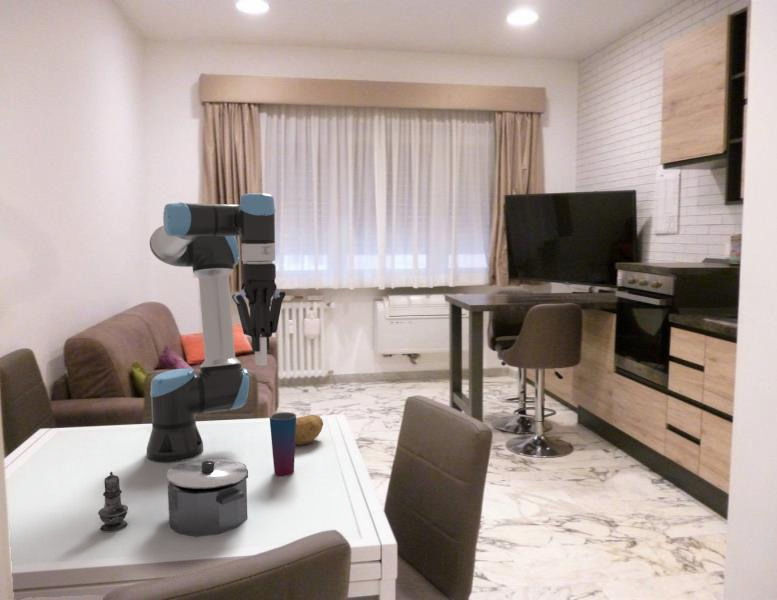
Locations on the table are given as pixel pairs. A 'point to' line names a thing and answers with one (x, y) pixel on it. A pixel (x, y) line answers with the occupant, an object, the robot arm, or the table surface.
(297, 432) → the potato
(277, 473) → the cup
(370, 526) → the table surface
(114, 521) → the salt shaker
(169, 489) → the pot
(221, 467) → the lid
